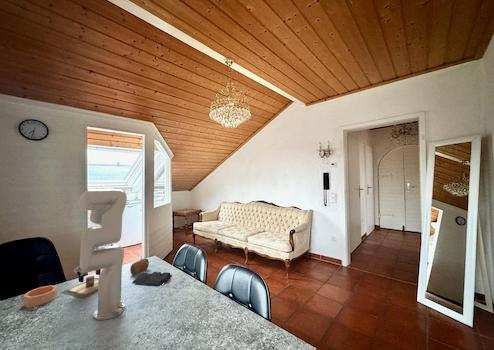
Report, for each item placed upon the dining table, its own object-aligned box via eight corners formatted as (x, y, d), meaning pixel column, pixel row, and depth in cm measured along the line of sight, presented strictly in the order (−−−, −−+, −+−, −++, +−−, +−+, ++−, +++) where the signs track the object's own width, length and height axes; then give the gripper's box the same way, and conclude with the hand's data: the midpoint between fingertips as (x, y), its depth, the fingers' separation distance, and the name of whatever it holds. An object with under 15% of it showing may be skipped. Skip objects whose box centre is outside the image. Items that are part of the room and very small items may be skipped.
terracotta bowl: (61, 296, 115) (61, 287, 116) (32, 309, 104) (33, 298, 104) (47, 293, 120) (48, 284, 120) (19, 304, 108) (19, 294, 108)
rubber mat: (117, 283, 131) (117, 282, 131) (83, 299, 112) (83, 298, 112) (95, 278, 138) (95, 277, 138) (59, 293, 119) (59, 292, 119)
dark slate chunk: (143, 275, 144) (143, 268, 144) (174, 276, 141) (174, 269, 141) (128, 285, 129) (128, 277, 129) (162, 287, 126) (162, 279, 126)
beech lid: (110, 283, 130) (110, 274, 130) (84, 295, 115) (85, 285, 116) (94, 279, 135) (94, 270, 135) (67, 291, 121) (67, 281, 121)
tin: (132, 277, 139) (133, 264, 140) (129, 276, 140) (129, 264, 141) (149, 268, 154) (149, 256, 154) (145, 268, 155) (145, 256, 155)
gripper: (79, 255, 117) (78, 286, 116) (108, 246, 133) (108, 273, 132) (70, 253, 119) (69, 283, 119) (100, 244, 136) (99, 271, 135)
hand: (89, 278), depth 126 cm, fingers open, 9 cm apart
